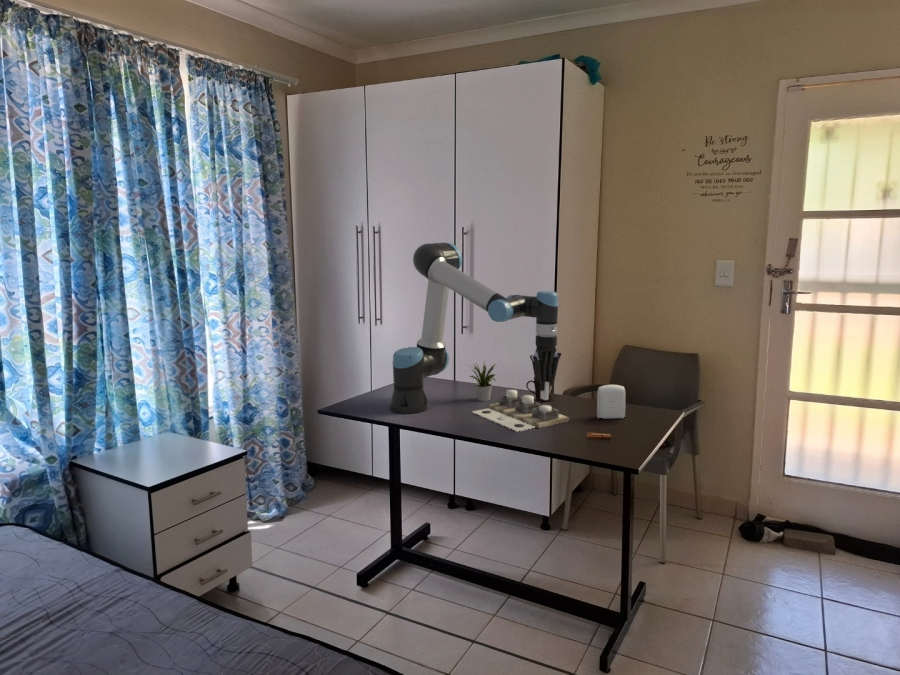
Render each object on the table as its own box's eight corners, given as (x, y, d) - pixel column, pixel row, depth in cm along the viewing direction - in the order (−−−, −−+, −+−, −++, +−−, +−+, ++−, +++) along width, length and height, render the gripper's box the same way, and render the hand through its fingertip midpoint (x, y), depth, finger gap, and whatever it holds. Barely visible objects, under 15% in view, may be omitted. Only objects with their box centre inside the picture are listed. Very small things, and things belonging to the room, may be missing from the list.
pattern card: (471, 412, 242) (471, 411, 242) (488, 409, 246) (488, 407, 246) (517, 432, 219) (517, 430, 219) (535, 428, 223) (535, 426, 223)
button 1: (503, 399, 247) (503, 390, 247) (512, 397, 250) (512, 389, 249) (510, 401, 244) (510, 393, 243) (519, 400, 246) (519, 391, 245)
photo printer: (598, 419, 232) (599, 386, 230) (595, 415, 236) (596, 383, 234) (626, 419, 232) (627, 386, 230) (623, 415, 236) (624, 383, 234)
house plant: (461, 404, 254) (461, 364, 251) (464, 395, 268) (464, 357, 265) (497, 405, 252) (497, 364, 249) (498, 395, 266) (498, 357, 263)
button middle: (519, 405, 239) (519, 396, 238) (528, 403, 241) (528, 394, 241) (527, 408, 235) (527, 398, 235) (536, 406, 238) (536, 397, 237)
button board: (489, 408, 248) (489, 397, 247) (517, 402, 255) (517, 391, 254) (539, 428, 223) (539, 415, 222) (569, 421, 230) (569, 409, 229)
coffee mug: (553, 397, 262) (554, 373, 261) (555, 403, 254) (555, 378, 252) (525, 397, 263) (525, 373, 262) (526, 402, 255) (526, 378, 253)
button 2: (536, 415, 231) (536, 406, 230) (545, 413, 233) (546, 404, 233) (544, 418, 227) (544, 409, 227) (553, 416, 230) (554, 407, 229)
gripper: (539, 338, 218) (537, 404, 223) (567, 334, 225) (565, 398, 230) (525, 335, 225) (523, 399, 229) (553, 331, 232) (551, 394, 236)
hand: (544, 399), depth 229 cm, fingers closed
